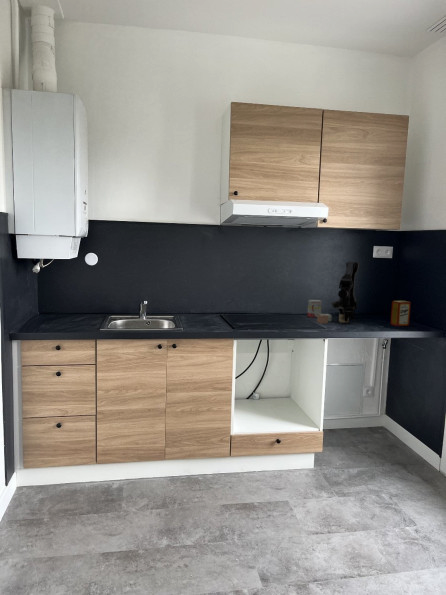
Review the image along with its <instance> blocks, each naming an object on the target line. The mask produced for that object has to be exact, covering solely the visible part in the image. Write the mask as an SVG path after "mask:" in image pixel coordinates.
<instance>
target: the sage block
mask: <svg viewBox="0 0 446 595" xmlns="http://www.w3.org/2000/svg"><path fill="white" fill-rule="evenodd" d="M319 315H327V316H328V322H332V319H333V316H332V314H330V313H321V314H319Z"/></svg>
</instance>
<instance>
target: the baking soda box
mask: <svg viewBox="0 0 446 595" xmlns="http://www.w3.org/2000/svg"><path fill="white" fill-rule="evenodd" d="M411 305H412V302H411V301H409V300H408V301H406V300H392V301H391V313H390V325H392V326H395V327H405V326H406V327H409V326H410V318H411V308H412V306H411Z"/></svg>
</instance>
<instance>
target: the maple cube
mask: <svg viewBox="0 0 446 595" xmlns="http://www.w3.org/2000/svg"><path fill="white" fill-rule="evenodd" d="M349 319H350V318H348V320H347V321H345V317H344V314H340V313H339V314H338V322H339V323H343V324H344V323H347V324H348V323H349V322H350V321H349Z"/></svg>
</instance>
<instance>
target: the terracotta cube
mask: <svg viewBox="0 0 446 595" xmlns="http://www.w3.org/2000/svg"><path fill="white" fill-rule="evenodd" d="M316 318H317V319H316V323H318V324H328V323H329V321H328V316H327V315H317V317H316Z"/></svg>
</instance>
